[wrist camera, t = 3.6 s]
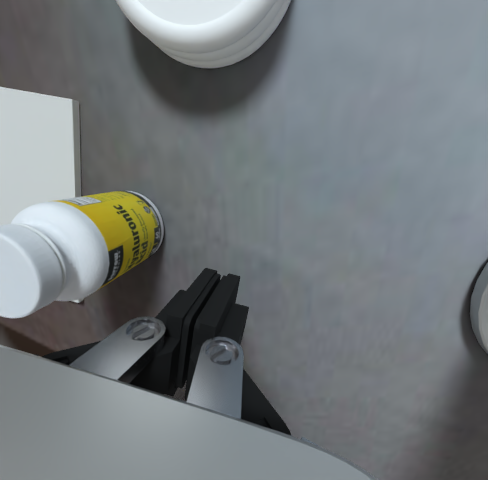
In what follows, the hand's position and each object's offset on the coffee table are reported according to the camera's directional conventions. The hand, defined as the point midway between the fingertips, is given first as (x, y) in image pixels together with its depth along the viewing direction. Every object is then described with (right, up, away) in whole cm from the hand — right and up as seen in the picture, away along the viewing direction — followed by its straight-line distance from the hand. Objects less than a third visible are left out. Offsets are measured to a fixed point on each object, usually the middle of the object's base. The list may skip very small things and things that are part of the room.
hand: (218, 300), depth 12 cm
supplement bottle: (-7, +4, +8) cm, 12 cm away
